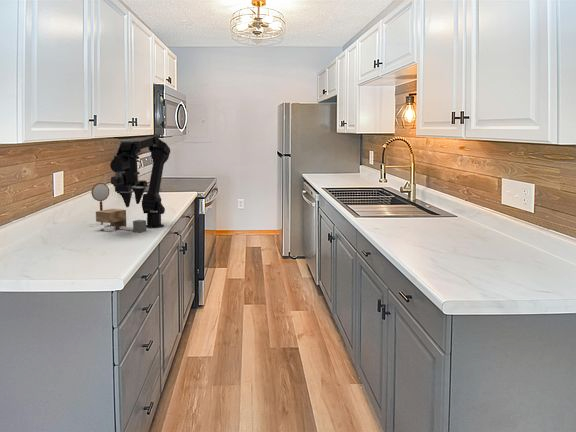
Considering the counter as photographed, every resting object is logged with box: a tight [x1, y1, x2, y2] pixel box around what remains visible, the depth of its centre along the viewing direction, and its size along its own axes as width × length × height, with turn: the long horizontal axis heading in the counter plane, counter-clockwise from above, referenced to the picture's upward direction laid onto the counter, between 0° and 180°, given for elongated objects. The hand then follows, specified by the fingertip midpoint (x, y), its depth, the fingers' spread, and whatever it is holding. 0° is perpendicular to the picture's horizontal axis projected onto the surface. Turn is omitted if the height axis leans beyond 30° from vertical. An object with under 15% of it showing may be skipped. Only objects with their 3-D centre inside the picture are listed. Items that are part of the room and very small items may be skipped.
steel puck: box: [103, 224, 117, 233], centre depth 243 cm, size 5×5×2 cm
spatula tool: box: [119, 219, 147, 234], centre depth 244 cm, size 4×13×5 cm, turn 64°
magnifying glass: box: [91, 182, 110, 225], centre depth 257 cm, size 9×2×20 cm, turn 132°
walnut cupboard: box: [95, 208, 128, 229], centre depth 246 cm, size 11×8×9 cm
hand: (132, 205), depth 238 cm, fingers open, 9 cm apart
